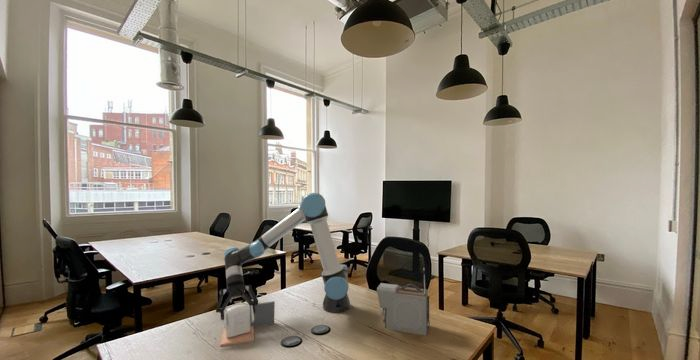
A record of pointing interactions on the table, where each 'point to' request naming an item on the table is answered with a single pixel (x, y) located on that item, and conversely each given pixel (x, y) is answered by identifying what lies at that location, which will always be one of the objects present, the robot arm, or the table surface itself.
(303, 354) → the table surface
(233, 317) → the photo printer
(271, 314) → the screen
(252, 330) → the display pad
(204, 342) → the table surface
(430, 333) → the table surface
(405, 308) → the portable television
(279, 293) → the table surface
